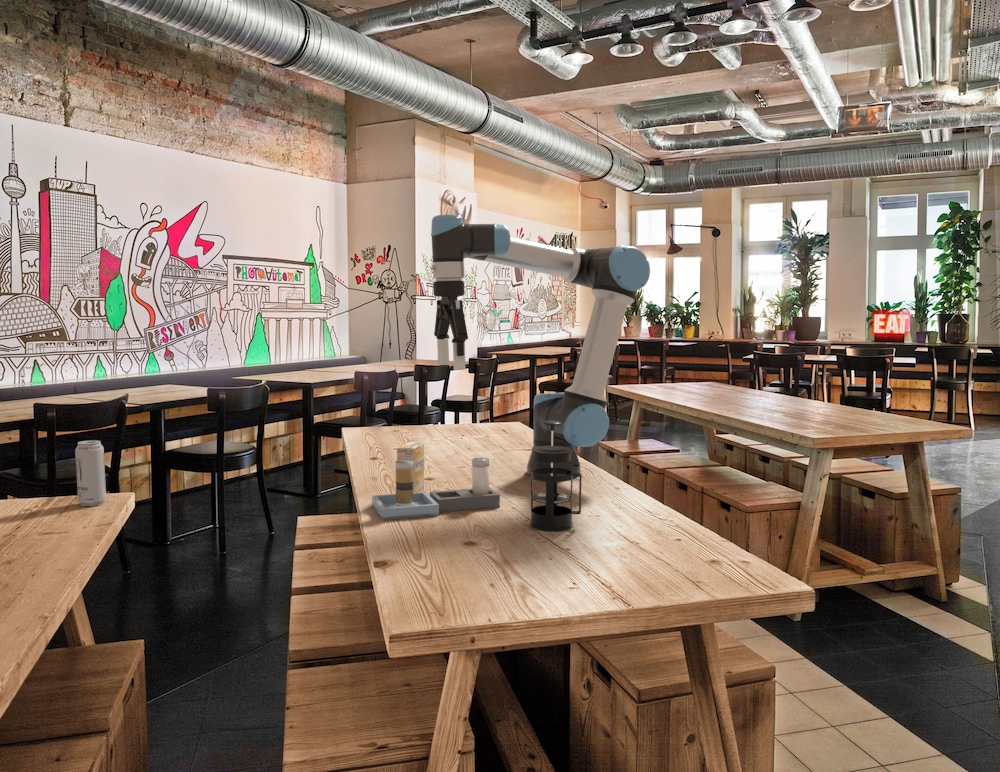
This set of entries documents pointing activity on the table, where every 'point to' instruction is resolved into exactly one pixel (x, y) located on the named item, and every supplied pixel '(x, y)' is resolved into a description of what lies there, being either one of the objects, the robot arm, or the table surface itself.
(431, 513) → the parts tray
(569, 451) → the french press
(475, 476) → the cylinder
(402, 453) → the supplement box
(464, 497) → the fuse block
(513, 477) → the table surface
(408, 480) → the fuse
